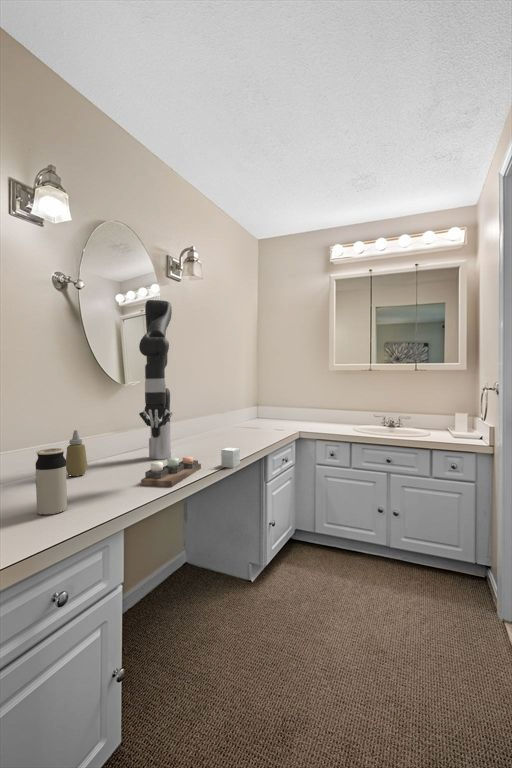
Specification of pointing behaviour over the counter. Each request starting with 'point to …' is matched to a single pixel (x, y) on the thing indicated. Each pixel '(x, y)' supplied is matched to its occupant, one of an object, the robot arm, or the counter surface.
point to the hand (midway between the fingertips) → (156, 437)
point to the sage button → (173, 462)
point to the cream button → (157, 467)
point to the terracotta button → (188, 460)
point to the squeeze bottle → (76, 456)
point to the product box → (230, 457)
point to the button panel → (170, 474)
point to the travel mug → (51, 481)
